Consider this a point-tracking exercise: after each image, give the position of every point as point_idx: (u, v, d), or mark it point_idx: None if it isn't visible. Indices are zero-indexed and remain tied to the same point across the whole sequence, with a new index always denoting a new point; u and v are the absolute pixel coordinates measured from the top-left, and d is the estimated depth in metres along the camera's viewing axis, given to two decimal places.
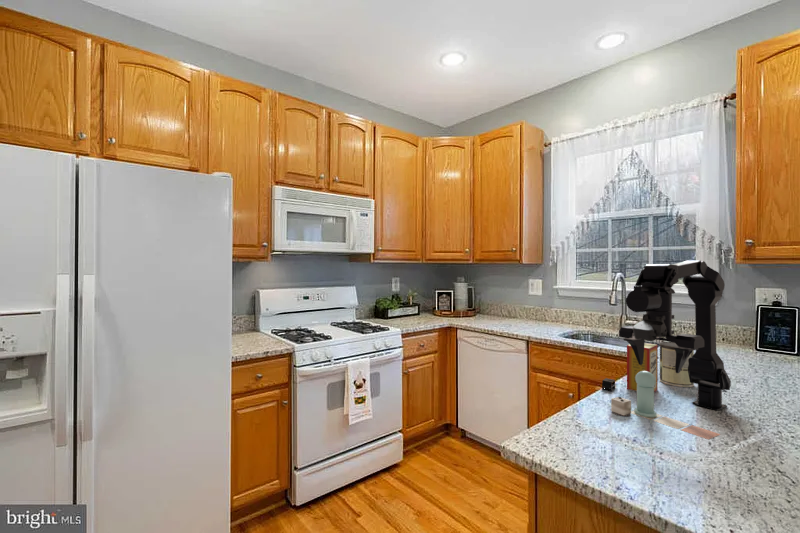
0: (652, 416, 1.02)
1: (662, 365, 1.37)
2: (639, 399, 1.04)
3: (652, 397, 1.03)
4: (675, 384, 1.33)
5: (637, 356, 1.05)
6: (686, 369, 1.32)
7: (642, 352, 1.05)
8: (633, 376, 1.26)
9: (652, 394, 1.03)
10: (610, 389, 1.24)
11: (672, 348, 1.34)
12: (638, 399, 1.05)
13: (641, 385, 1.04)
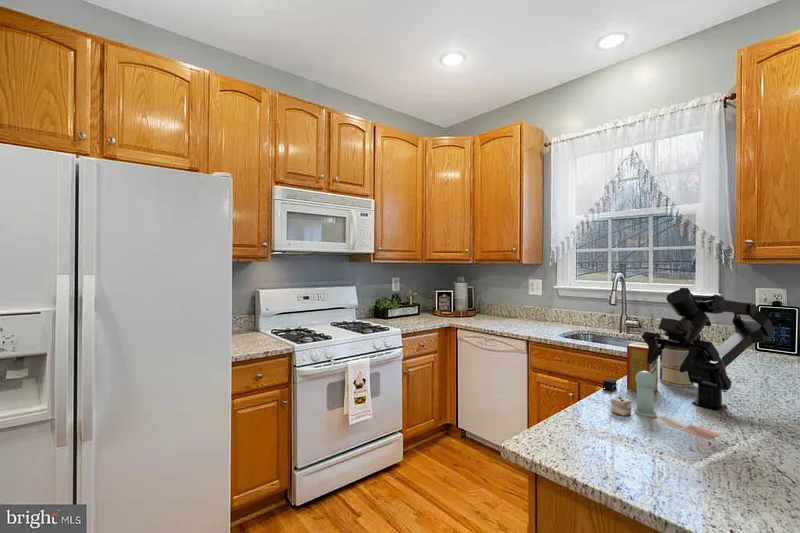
0: (652, 416, 1.02)
1: (662, 365, 1.37)
2: (639, 399, 1.04)
3: (652, 397, 1.03)
4: (675, 384, 1.33)
5: (649, 355, 1.12)
6: None
7: (655, 357, 1.13)
8: (633, 377, 1.26)
9: (652, 394, 1.03)
10: (611, 389, 1.24)
11: (672, 348, 1.34)
12: (638, 399, 1.05)
13: (641, 385, 1.04)
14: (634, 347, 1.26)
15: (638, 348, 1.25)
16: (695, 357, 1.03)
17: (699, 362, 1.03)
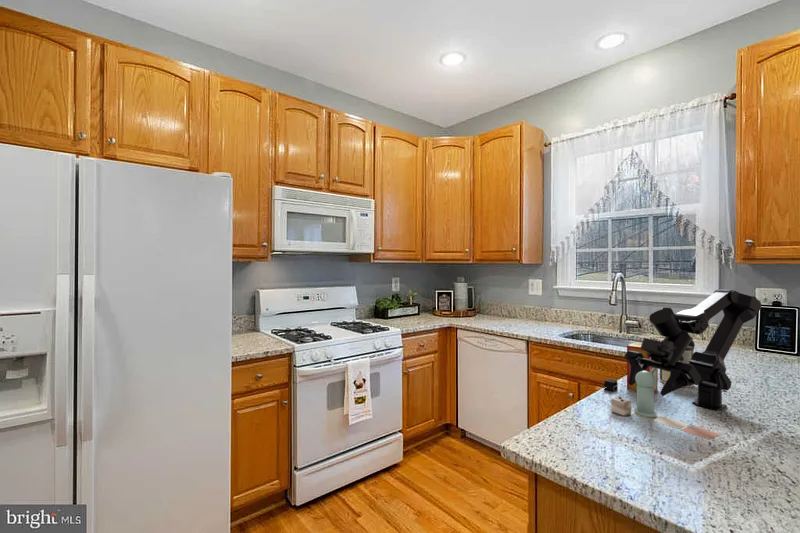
0: (652, 416, 1.02)
1: None
2: (639, 399, 1.04)
3: (652, 397, 1.03)
4: None
5: (631, 375, 1.10)
6: None
7: None
8: None
9: (652, 394, 1.03)
10: (612, 390, 1.24)
11: None
12: (638, 399, 1.05)
13: (641, 385, 1.04)
14: (634, 347, 1.25)
15: (638, 348, 1.25)
16: (677, 380, 1.01)
17: (681, 385, 1.01)
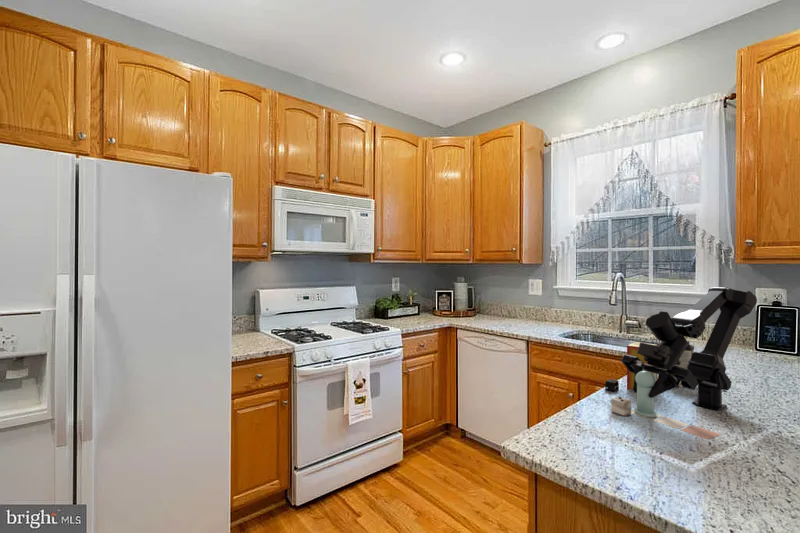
0: (652, 416, 1.02)
1: None
2: (639, 399, 1.04)
3: None
4: None
5: (635, 382, 1.07)
6: None
7: None
8: (633, 377, 1.26)
9: None
10: (613, 390, 1.23)
11: None
12: (638, 399, 1.05)
13: (641, 385, 1.04)
14: (634, 347, 1.25)
15: None
16: (664, 382, 1.03)
17: (668, 387, 1.02)
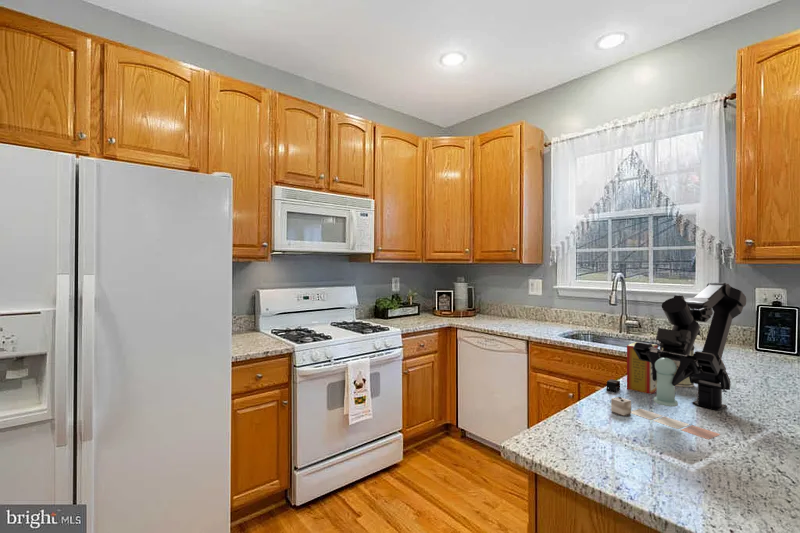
0: (675, 405, 0.97)
1: None
2: (660, 388, 0.99)
3: None
4: None
5: (654, 370, 1.02)
6: None
7: None
8: (633, 377, 1.26)
9: None
10: (615, 390, 1.23)
11: None
12: (659, 388, 0.99)
13: (663, 373, 0.98)
14: None
15: None
16: (685, 368, 0.98)
17: (689, 373, 0.98)
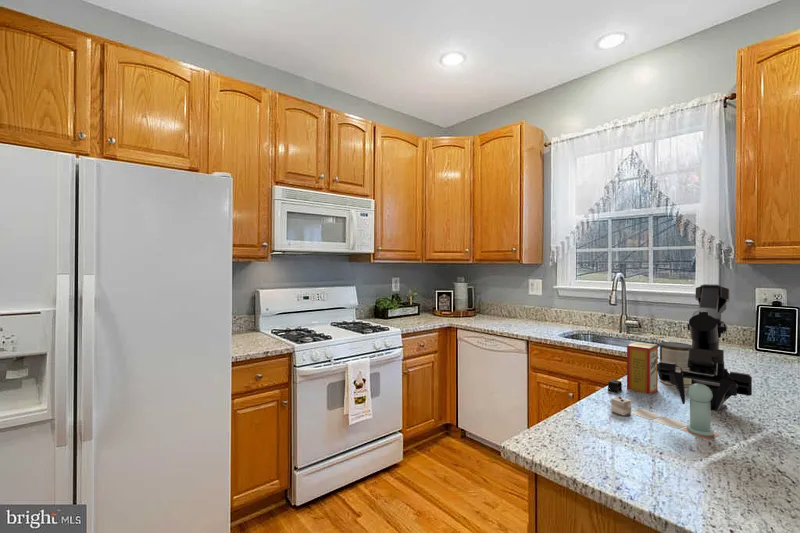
0: (712, 434, 0.91)
1: None
2: (697, 417, 0.92)
3: (710, 412, 0.92)
4: None
5: (682, 392, 0.96)
6: (686, 369, 1.32)
7: (684, 393, 0.97)
8: (633, 377, 1.26)
9: (710, 410, 0.92)
10: (616, 390, 1.23)
11: (672, 348, 1.34)
12: (696, 417, 0.92)
13: (700, 401, 0.92)
14: (634, 347, 1.25)
15: (638, 348, 1.25)
16: None
17: (727, 396, 0.93)
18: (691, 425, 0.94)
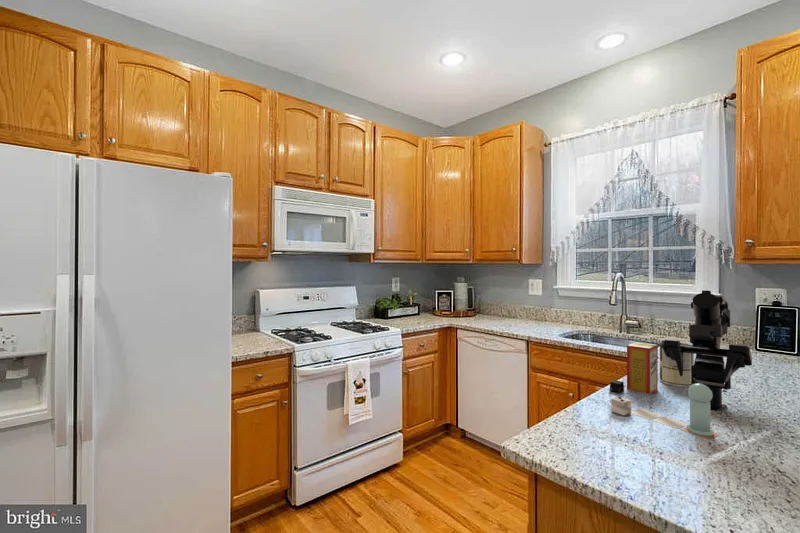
0: (712, 434, 0.91)
1: (662, 365, 1.37)
2: (697, 416, 0.92)
3: (709, 412, 0.92)
4: (675, 384, 1.33)
5: (679, 366, 1.04)
6: (686, 369, 1.32)
7: (682, 367, 1.05)
8: (633, 377, 1.26)
9: (709, 410, 0.92)
10: (618, 391, 1.22)
11: None
12: (696, 417, 0.92)
13: (700, 401, 0.92)
14: (634, 347, 1.26)
15: (638, 348, 1.25)
16: None
17: (735, 368, 0.98)
18: (691, 425, 0.94)
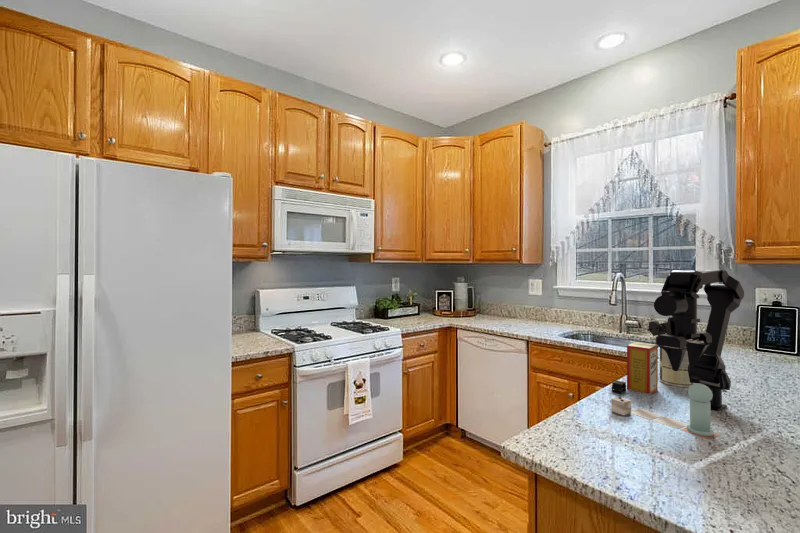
0: (712, 434, 0.91)
1: (662, 365, 1.37)
2: (697, 416, 0.92)
3: (710, 412, 0.92)
4: (675, 384, 1.33)
5: None
6: (686, 369, 1.32)
7: (696, 356, 1.08)
8: (633, 377, 1.26)
9: (710, 410, 0.92)
10: (620, 392, 1.22)
11: None
12: (696, 417, 0.92)
13: (700, 401, 0.92)
14: (634, 347, 1.25)
15: (638, 348, 1.25)
16: (674, 351, 1.04)
17: (679, 353, 1.02)
18: (691, 425, 0.94)
